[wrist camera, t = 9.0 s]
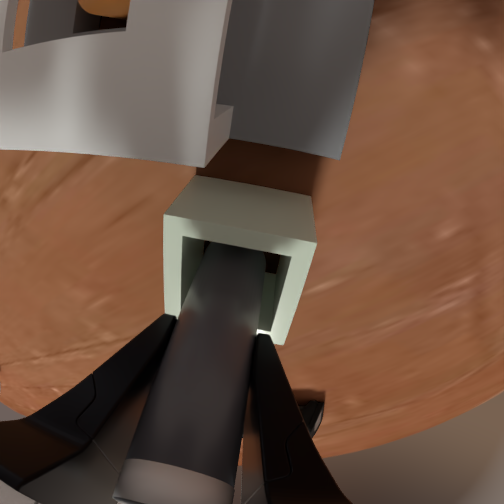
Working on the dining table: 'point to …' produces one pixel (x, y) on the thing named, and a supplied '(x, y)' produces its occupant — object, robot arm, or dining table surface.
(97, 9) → the button
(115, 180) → the dining table surface
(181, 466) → the flashlight
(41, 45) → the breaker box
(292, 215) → the pen stand
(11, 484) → the robot arm
